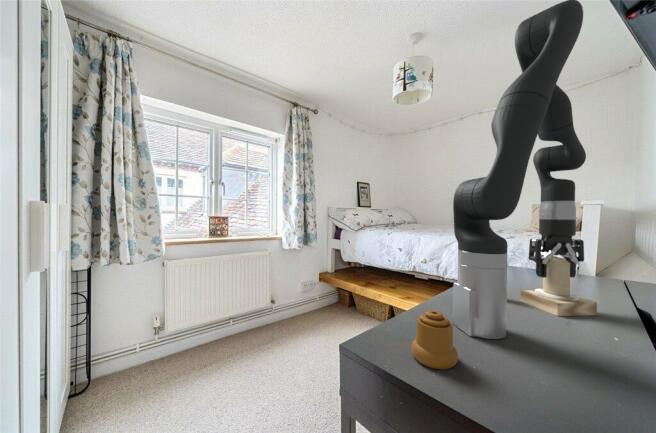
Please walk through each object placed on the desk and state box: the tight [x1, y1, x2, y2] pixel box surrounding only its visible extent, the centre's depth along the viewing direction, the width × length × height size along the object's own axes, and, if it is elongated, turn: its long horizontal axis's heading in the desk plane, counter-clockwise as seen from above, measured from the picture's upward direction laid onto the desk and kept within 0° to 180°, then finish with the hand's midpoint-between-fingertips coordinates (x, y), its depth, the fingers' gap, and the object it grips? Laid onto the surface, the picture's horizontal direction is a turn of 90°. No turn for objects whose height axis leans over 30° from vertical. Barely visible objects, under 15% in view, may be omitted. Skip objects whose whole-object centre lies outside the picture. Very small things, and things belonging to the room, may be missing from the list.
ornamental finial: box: [411, 309, 459, 370], centre depth 44 cm, size 8×8×8 cm
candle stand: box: [519, 287, 598, 317], centre depth 70 cm, size 11×11×4 cm
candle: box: [542, 255, 571, 296], centre depth 70 cm, size 6×6×10 cm
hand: (555, 276), depth 70 cm, fingers open, 8 cm apart
